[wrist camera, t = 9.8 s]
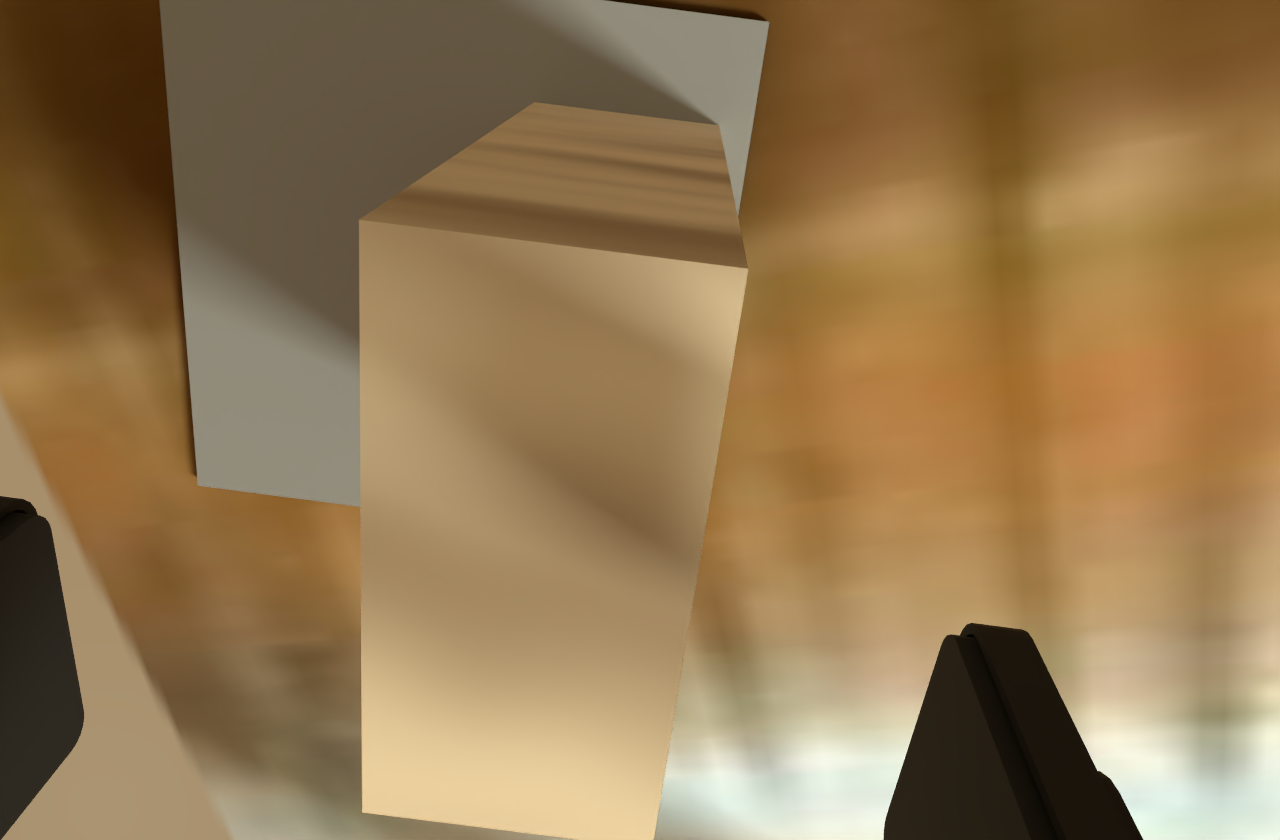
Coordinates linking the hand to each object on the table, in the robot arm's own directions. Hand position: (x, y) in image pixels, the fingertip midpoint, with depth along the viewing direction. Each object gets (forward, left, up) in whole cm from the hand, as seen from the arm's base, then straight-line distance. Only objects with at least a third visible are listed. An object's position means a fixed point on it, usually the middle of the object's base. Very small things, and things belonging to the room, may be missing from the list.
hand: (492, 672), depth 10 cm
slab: (0, 0, -16) cm, 16 cm away
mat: (+1, -4, -16) cm, 16 cm away
